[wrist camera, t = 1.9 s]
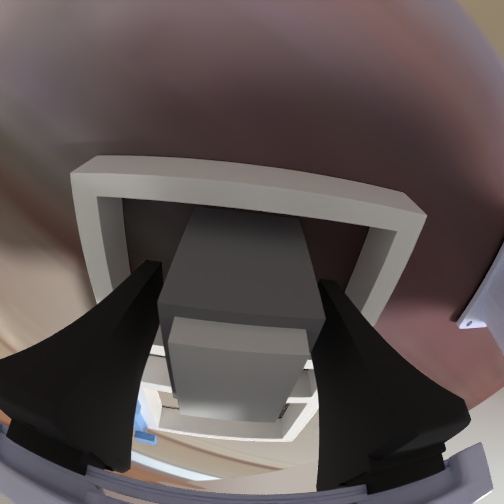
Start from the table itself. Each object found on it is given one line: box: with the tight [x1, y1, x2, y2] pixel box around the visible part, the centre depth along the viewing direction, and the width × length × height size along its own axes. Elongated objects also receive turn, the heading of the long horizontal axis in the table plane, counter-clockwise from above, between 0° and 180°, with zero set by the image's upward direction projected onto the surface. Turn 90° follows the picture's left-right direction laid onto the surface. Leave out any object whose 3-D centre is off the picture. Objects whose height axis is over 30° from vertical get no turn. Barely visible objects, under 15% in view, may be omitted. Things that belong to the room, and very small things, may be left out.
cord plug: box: [157, 207, 326, 423], centre depth 10 cm, size 4×5×6 cm
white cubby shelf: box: [70, 155, 427, 445], centre depth 14 cm, size 13×21×4 cm, turn 173°
